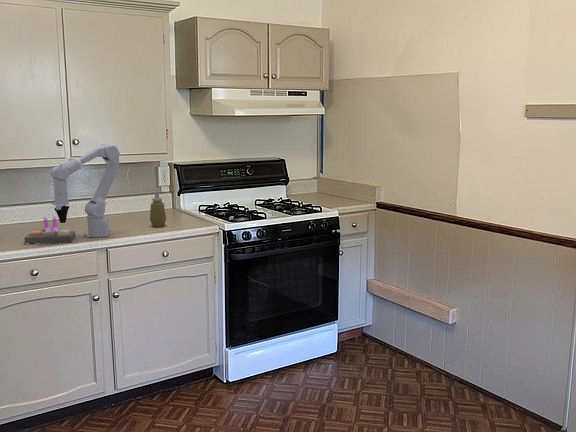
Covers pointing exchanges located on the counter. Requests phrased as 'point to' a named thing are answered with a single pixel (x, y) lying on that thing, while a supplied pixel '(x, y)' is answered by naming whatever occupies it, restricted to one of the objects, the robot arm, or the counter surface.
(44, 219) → the bracket
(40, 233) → the terracotta key
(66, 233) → the cream key
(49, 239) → the grey slotted base
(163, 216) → the squeeze bottle
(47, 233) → the grey key
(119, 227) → the counter surface
